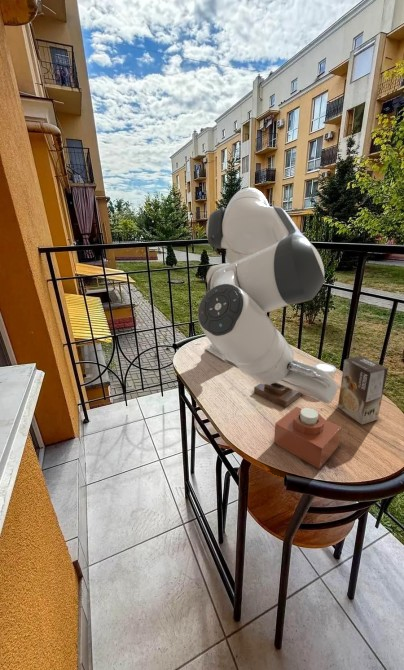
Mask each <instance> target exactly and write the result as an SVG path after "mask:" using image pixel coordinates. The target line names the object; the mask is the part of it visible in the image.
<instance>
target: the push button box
mask: <svg viewBox="0 0 404 670" xmlns="http://www.w3.org/2000/svg"><path fill="white" fill-rule="evenodd" d="M302 409H303V408H302V407H300V406H295V407H294V408H292V409H291V410H290V411H289V412H288V413H286V414H285V415H284V416H283V417H281V418H280V419H279V420H278V421H276V422H275V423H274V438H273V443H274V444H276V445H278V446H279V447H281V448H282V449H284V450H286V451H288V452H289V453H291V454H293V455H295V456H296V457H298V458H299V459H301V460H303V461H304V462H306V463H308V464H309V465H311V466H313V467H315V469H318V470H320V469H321V468H322V466H323V465H324V464H325V463H326V462H327V461H328V460H329V458H330V457H331V456H332V455H333V453H335V451H336V450H337V449H338V448H339V445H340V438H341V433H342V426H340V425H338V424H336V423H334V422H331V421H329V420H328V419H325V418H324V417H323V416H322V415H321V414H320V413H318V420H317V423H316V424H313V425H310V424H306V423H304V422H301V420H300V412H301V410H302Z"/></svg>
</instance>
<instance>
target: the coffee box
mask: <svg viewBox="0 0 404 670" xmlns="http://www.w3.org/2000/svg"><path fill="white" fill-rule="evenodd" d="M388 371H389V368H388V367H386V366H384V365H382V364H379V363H377V362H375V361H373V360H371V359H369V358H367V357H364V356H362V355H357V356H353V357H352V356H351V357H349V358H346V359H344V360H343V368H342V375H341V382H340V388H339V389H340V390H339V395H338V403H337V408H338V409H339V410H341V411H342V412H343V413H345V414H346V415H348V416H349V417H351V418H352V419H353V420H355V421H356V422H357V423H359V424H360V425H365V424H368V423H371V422H374V421H378V420H379V415H380V409H381V404H382V401H383V400H382V399H383V396H384V390H385V385H386V382H387V381H386V380H387V377H388V376H387V375H388Z"/></svg>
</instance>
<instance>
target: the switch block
mask: <svg viewBox="0 0 404 670" xmlns="http://www.w3.org/2000/svg"><path fill="white" fill-rule="evenodd" d="M253 393H254V394H256V395H258V396H260V397H261V398H264V399H266V400H269V401H271V402H273V403H275V404H277V405H279V406H281V407H284V408H287V407H288V406H290V405H291V404H292V403H294V402H296V400H297V399H299V398H300V397H301V396H303V394H302V393H300V392H298V391H295V390H293V389H290V388H288V387H286V386H283V387H281V388H279V387H277V386H275V385H272V384H260V383H258V384H257V385H255V386H254V387H253Z"/></svg>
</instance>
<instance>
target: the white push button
mask: <svg viewBox="0 0 404 670" xmlns="http://www.w3.org/2000/svg"><path fill="white" fill-rule="evenodd" d="M301 409H302V410H301V412H300V420H301V422H304V423H306V424H310V425H313V424H316V423H317V420H318V414H319V413H318V411H317V410H315V409H313V408H310V407H304V408H301Z"/></svg>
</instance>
